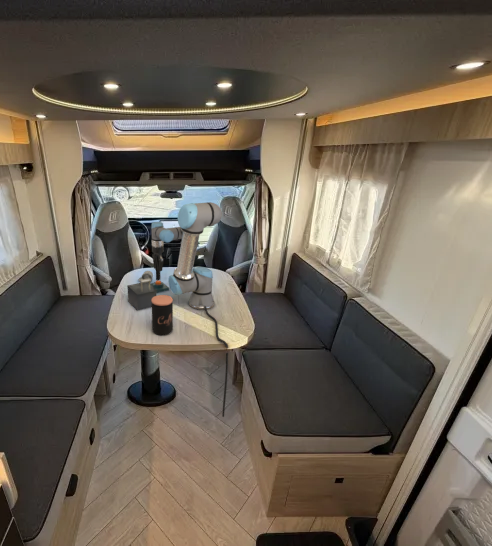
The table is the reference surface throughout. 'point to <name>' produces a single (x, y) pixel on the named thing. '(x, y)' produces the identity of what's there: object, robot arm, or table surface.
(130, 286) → the box lid
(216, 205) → the robot arm
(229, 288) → the table surface
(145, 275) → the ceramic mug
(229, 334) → the table surface
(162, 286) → the control block
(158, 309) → the coffee jar
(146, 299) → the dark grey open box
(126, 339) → the table surface
